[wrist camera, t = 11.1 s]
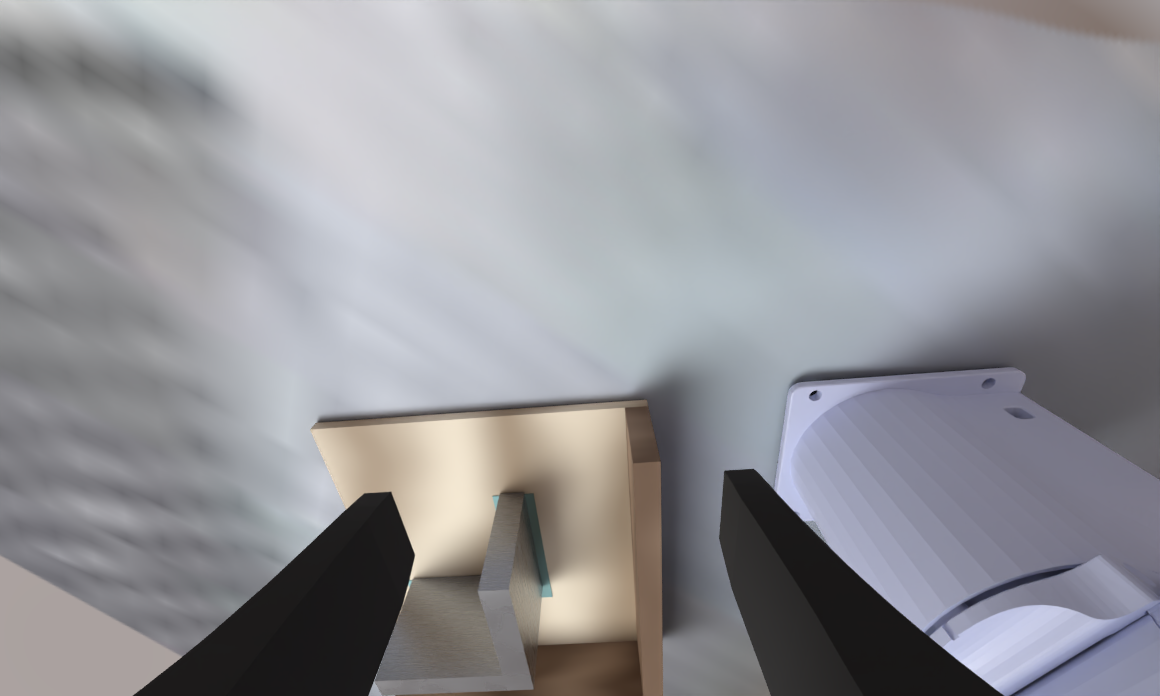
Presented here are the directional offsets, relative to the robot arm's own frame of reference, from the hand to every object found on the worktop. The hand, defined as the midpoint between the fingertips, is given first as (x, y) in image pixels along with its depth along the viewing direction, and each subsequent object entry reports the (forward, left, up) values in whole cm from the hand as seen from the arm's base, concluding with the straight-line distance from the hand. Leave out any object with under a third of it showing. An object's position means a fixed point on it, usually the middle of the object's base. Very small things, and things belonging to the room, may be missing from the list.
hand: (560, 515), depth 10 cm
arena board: (+5, +12, -9) cm, 16 cm away
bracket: (+7, +11, -9) cm, 16 cm away
